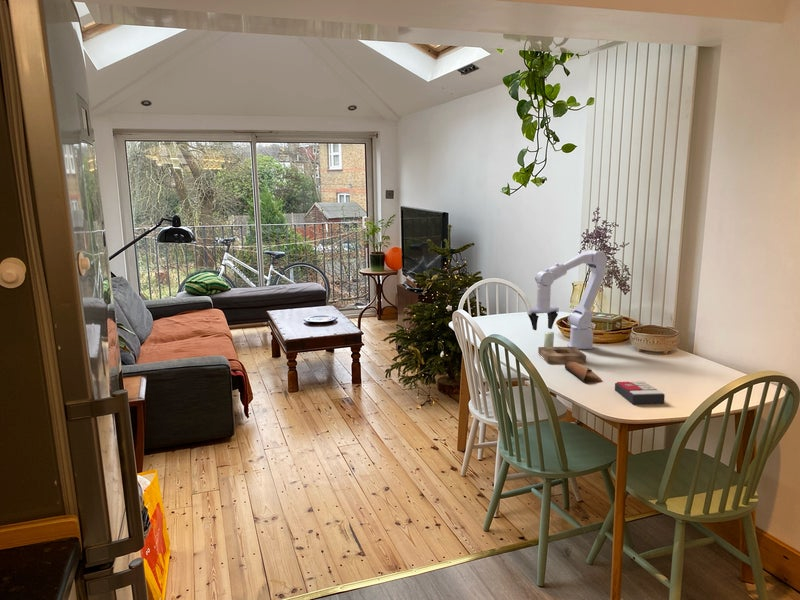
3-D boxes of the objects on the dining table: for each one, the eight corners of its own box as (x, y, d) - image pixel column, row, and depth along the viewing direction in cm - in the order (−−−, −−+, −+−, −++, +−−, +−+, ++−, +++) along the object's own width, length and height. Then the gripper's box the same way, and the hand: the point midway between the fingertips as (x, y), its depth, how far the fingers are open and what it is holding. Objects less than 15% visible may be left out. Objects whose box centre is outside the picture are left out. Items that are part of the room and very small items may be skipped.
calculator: (644, 380, 217) (665, 392, 202) (643, 391, 218) (664, 404, 203) (614, 380, 217) (633, 393, 202) (614, 392, 217) (632, 405, 202)
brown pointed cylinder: (605, 382, 225) (597, 367, 223) (589, 392, 225) (581, 377, 223) (584, 367, 243) (576, 354, 241) (569, 377, 242) (561, 363, 241)
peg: (551, 349, 269) (552, 331, 268) (554, 351, 265) (555, 334, 264) (542, 349, 269) (543, 331, 268) (545, 351, 265) (546, 334, 264)
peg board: (574, 353, 263) (574, 346, 262) (585, 362, 249) (586, 355, 249) (538, 353, 262) (538, 347, 262) (547, 363, 248) (547, 356, 248)
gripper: (553, 296, 270) (551, 325, 272) (524, 298, 266) (523, 328, 268) (561, 299, 263) (560, 329, 266) (532, 301, 259) (531, 332, 262)
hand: (542, 329), depth 267 cm, fingers open, 7 cm apart
